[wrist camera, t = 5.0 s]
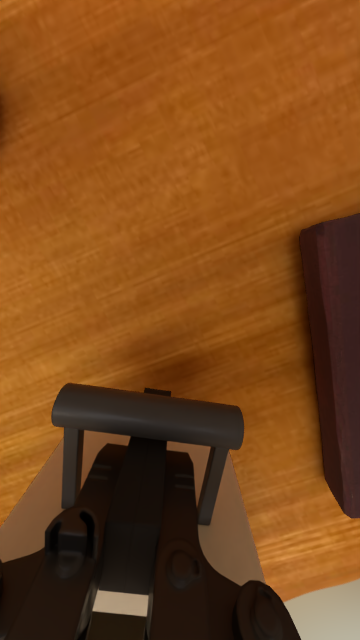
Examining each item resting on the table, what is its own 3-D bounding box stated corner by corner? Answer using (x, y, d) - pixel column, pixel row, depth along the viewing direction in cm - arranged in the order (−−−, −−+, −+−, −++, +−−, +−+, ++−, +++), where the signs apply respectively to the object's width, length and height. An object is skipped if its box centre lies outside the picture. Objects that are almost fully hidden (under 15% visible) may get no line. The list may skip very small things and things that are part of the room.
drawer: (82, 336, 13) (-51, 425, 6) (243, 360, 14) (324, 473, 6) (70, 562, 18) (-13, 782, 10) (191, 575, 18) (199, 797, 10)
